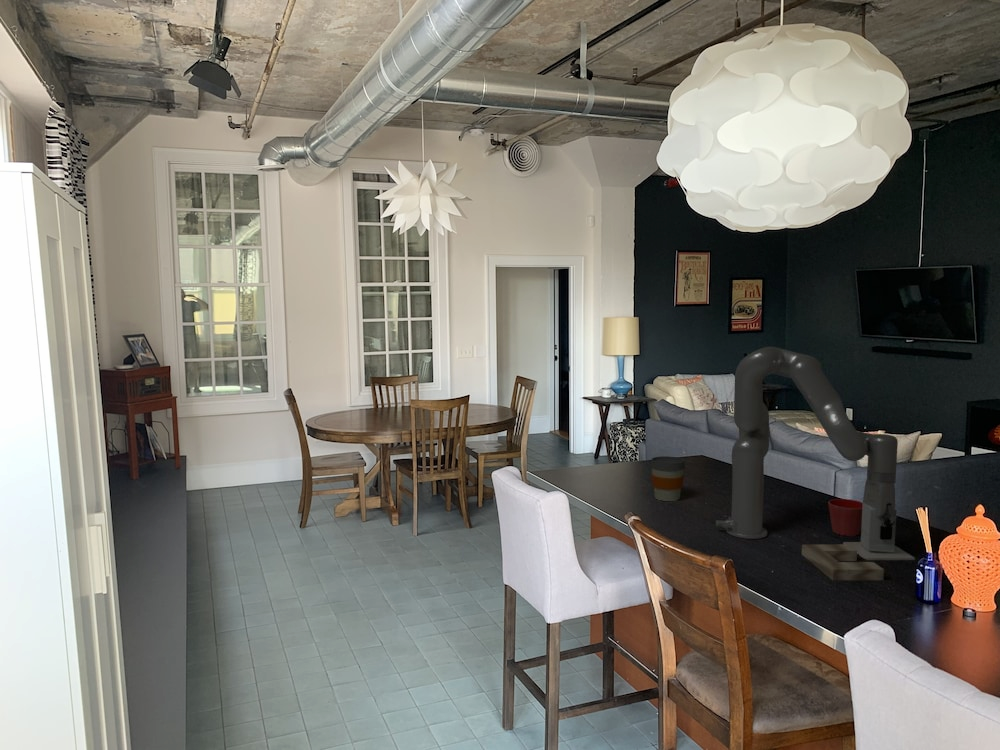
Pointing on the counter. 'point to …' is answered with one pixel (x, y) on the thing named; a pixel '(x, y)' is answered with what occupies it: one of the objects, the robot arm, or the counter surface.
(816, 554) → the box dock
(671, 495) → the reusable coffee cup
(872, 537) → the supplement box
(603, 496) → the counter surface
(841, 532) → the flower pot
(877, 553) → the tile
